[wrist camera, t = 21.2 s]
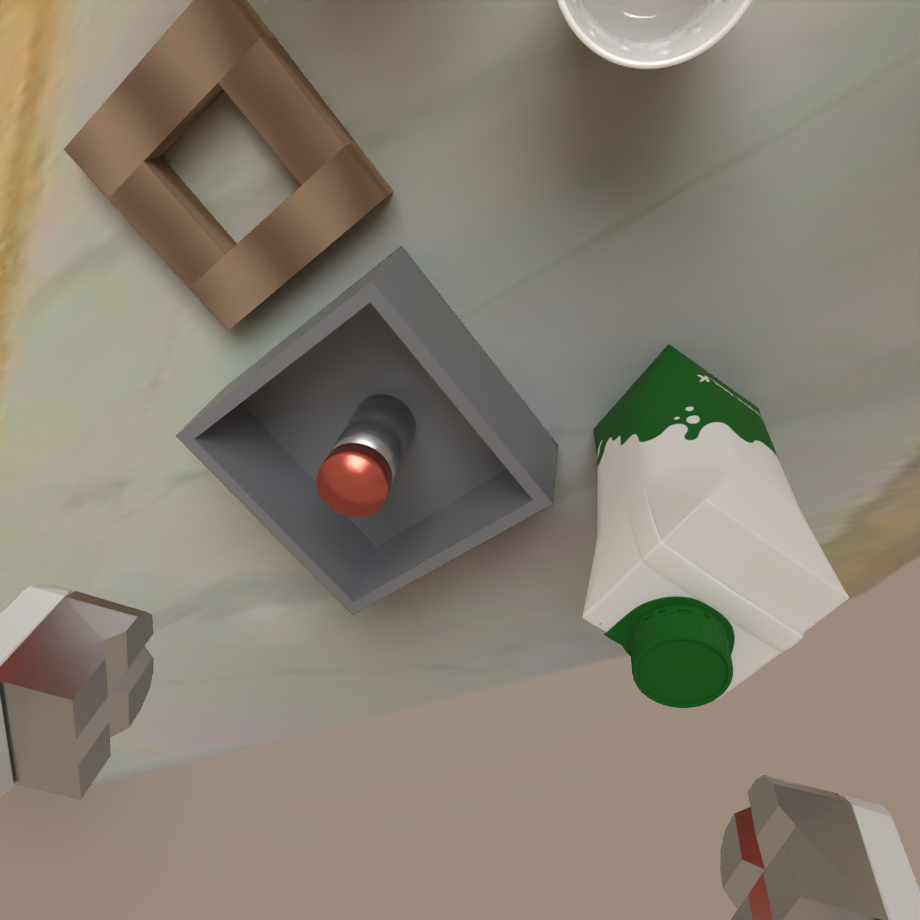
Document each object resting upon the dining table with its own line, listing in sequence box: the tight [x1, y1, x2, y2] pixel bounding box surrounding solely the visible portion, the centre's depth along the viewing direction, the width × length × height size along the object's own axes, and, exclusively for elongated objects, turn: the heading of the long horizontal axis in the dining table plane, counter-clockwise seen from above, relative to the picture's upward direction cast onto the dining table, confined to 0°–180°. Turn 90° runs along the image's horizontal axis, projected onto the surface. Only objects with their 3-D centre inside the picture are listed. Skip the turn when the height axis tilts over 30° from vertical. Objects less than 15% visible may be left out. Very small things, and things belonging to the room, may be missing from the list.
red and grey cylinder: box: [316, 394, 415, 517], centre depth 46 cm, size 4×4×8 cm
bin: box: [176, 246, 558, 615], centre depth 48 cm, size 16×16×7 cm
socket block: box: [64, 0, 393, 331], centre depth 43 cm, size 13×13×2 cm
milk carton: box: [582, 345, 849, 708], centre depth 39 cm, size 9×9×20 cm
